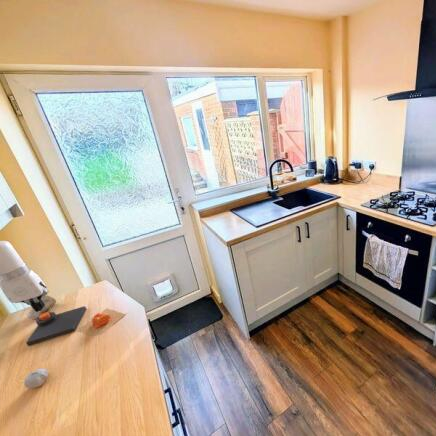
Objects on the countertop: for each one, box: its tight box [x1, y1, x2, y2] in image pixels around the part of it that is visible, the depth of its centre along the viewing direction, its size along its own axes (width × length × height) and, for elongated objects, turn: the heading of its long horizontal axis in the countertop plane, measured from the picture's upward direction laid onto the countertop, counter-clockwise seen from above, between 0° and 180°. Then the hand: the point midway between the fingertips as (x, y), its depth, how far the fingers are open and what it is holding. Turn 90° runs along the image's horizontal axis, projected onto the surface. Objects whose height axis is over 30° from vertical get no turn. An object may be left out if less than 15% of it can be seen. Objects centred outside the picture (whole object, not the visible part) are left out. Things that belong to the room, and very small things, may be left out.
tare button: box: [38, 311, 50, 321], centre depth 101 cm, size 3×3×2 cm
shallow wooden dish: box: [77, 307, 126, 338], centre depth 99 cm, size 12×12×4 cm
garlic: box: [23, 367, 50, 389], centre depth 78 cm, size 6×5×5 cm
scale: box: [25, 306, 87, 347], centre depth 100 cm, size 15×14×4 cm
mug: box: [26, 294, 57, 320], centre depth 109 cm, size 8×10×10 cm
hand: (40, 308), depth 99 cm, fingers closed
